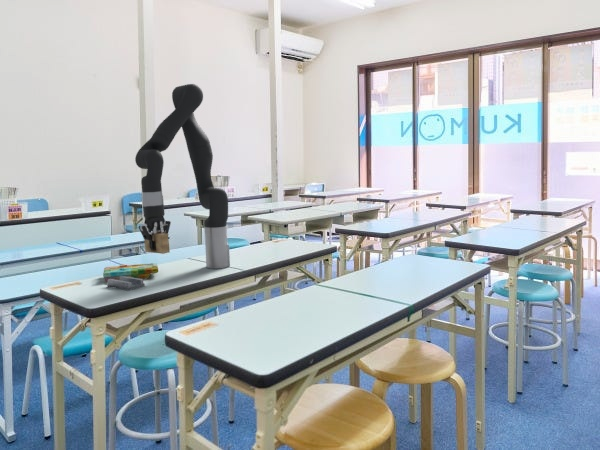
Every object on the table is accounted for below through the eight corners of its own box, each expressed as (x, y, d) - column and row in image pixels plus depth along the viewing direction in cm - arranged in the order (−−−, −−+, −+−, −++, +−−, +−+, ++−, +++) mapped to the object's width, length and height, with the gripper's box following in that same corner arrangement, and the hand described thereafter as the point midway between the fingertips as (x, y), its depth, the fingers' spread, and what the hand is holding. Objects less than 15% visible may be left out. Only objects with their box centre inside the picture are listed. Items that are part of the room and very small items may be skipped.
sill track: (107, 286, 186) (106, 279, 186) (123, 282, 192) (122, 275, 192) (128, 290, 180) (127, 283, 179) (144, 286, 186) (143, 279, 185)
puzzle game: (104, 265, 202) (156, 261, 209) (105, 277, 203) (157, 272, 209) (103, 271, 191) (158, 266, 198) (104, 283, 192) (158, 278, 198)
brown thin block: (145, 251, 193) (143, 233, 192) (151, 250, 196) (150, 232, 195) (163, 253, 188) (161, 235, 187) (169, 252, 190) (168, 233, 189)
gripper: (161, 201, 197) (164, 245, 199) (131, 205, 185) (135, 252, 188) (174, 202, 193) (178, 246, 195) (144, 206, 181) (149, 254, 184)
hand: (157, 249), depth 191 cm, fingers closed on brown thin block, 3 cm apart
